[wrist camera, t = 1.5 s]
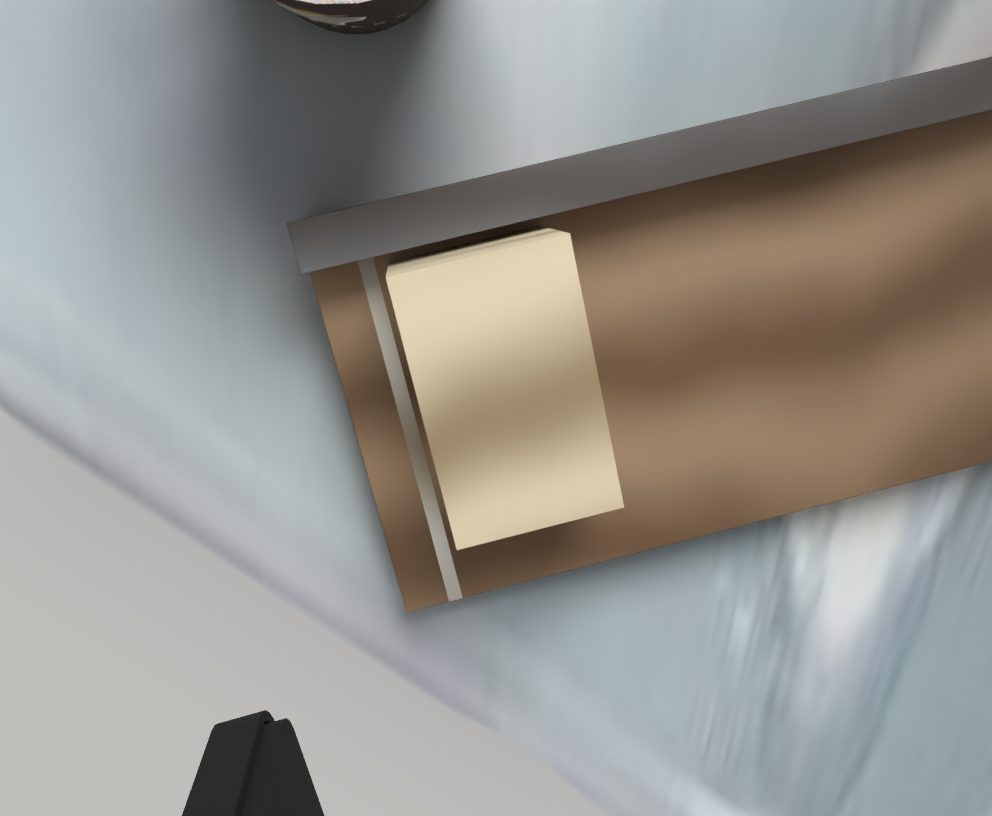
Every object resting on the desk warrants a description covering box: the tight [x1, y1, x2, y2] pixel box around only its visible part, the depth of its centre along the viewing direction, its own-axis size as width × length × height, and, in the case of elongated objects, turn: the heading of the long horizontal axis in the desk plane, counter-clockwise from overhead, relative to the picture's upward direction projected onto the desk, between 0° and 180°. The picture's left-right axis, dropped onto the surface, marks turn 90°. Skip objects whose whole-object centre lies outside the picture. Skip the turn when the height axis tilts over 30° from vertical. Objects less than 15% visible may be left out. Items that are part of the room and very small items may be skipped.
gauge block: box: [386, 226, 624, 550], centre depth 25 cm, size 9×5×5 cm, turn 13°
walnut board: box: [287, 57, 992, 612], centre depth 28 cm, size 14×26×4 cm, turn 103°
